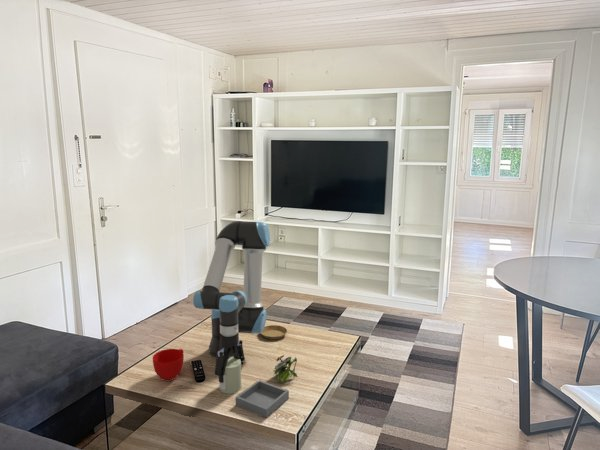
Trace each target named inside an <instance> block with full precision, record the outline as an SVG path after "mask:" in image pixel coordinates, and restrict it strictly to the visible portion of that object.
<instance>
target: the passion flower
mask: <svg viewBox="0 0 600 450" xmlns="http://www.w3.org/2000/svg"><path fill="white" fill-rule="evenodd" d="M284 356H285V355H284V354H283V355H280V356H278V357H277V359H276V362H278V361H280V362H279V363H277V364H276V365H275V366H274V368H273V369H274V370H273V372H274V374H275V375H277V374H278V375H277V383H278V384H279V383H283V382H286V381H288V380H289V379H290V378H292V376H293V377H294V378H295V377H296V378H297V377H298V375H297V373H296V372H295V370H296V369H295V368H296V365H297V361H298V359H297V357H294V358H293V359H292V356H288V357H286V358H285V359H283V360H282V358H283V357H284ZM293 363H294V367H293V369H291V367H292V364H293Z"/></svg>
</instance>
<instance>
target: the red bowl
mask: <svg viewBox="0 0 600 450" xmlns="http://www.w3.org/2000/svg"><path fill="white" fill-rule="evenodd" d="M184 360H185V359H184V349H183V348H179V349H178V348H167V349H163V350H159V351H158V352H156V353H155V354H153V356H152V366H153V369H154V372H155V374H156V375H157V376H158V377H159V378H160V379H163V381H165V380H169V381H172V379H173V380H175V379H176V378H178V376H179V375H180V373H181V372H182V369H183V366H184ZM174 378H175V379H174Z"/></svg>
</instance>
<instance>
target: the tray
mask: <svg viewBox="0 0 600 450" xmlns="http://www.w3.org/2000/svg"><path fill="white" fill-rule="evenodd" d="M289 396H290V391H289V390H288V389H286V388H282V387H279V386H276V385H274V384H272V383H270V382H269V383H268V382H266V381H263V380H260V379H257V381H255V382H254V383H253V384H251V385H250V386H249V387H247V388H246V389H245V390H243V391H242V392H240V393H239V394H237V396H235V406H237V407H240V408H242V409H243V410H247V411H248V410H249V412H251V413H254V414H255V415H259V416H260V415H261V417H263V418H265V417H266V418H265V419H268V418H269V417H270V416H271V415H272V414H273V413H274V412H275V411H277V410H278V409H279V408H280V407H281V406H283V404H284V403H285V402H287V401H288V400H289V398H290V397H289ZM270 414H271V415H270Z"/></svg>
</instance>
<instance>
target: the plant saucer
mask: <svg viewBox="0 0 600 450" xmlns="http://www.w3.org/2000/svg"><path fill="white" fill-rule="evenodd" d="M287 332H288V329H287V328H286V327H284V326H282V325H275V324H271V325H265V327H264V329H263V331H262V332H261V333H260V334H261V336H263V337H264V338H265V339H268V340H278V339H281V338H283V337H284V336H286V334H287Z"/></svg>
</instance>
